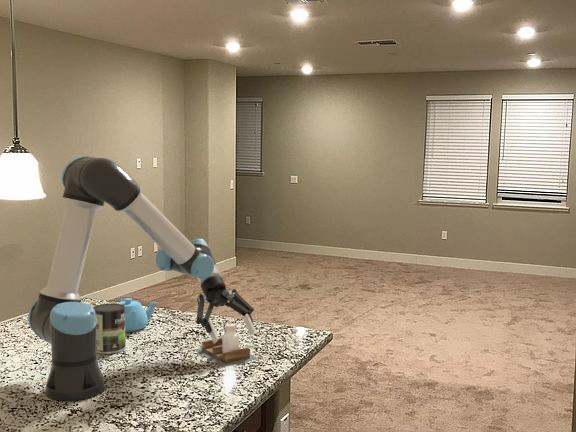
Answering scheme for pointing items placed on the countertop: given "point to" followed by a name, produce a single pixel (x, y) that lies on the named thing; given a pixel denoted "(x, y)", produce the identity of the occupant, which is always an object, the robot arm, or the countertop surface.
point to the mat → (223, 362)
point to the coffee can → (110, 328)
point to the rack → (227, 357)
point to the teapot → (136, 314)
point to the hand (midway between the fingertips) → (235, 337)
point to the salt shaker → (230, 339)
